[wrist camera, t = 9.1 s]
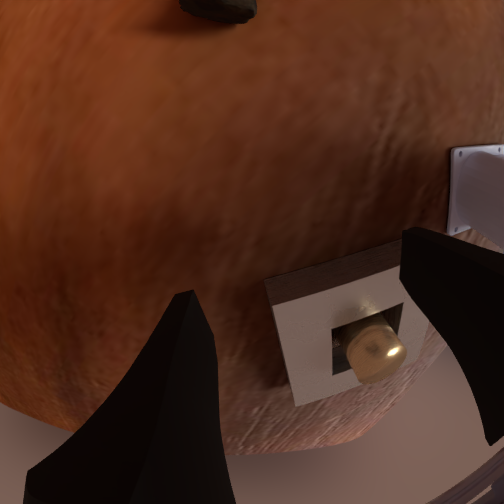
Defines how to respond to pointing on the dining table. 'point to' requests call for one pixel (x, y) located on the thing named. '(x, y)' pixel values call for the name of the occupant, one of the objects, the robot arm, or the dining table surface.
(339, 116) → the dining table surface
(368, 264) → the square stone frame
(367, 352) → the cylinder
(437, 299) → the robot arm
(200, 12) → the hand tool
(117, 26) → the dining table surface
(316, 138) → the dining table surface
